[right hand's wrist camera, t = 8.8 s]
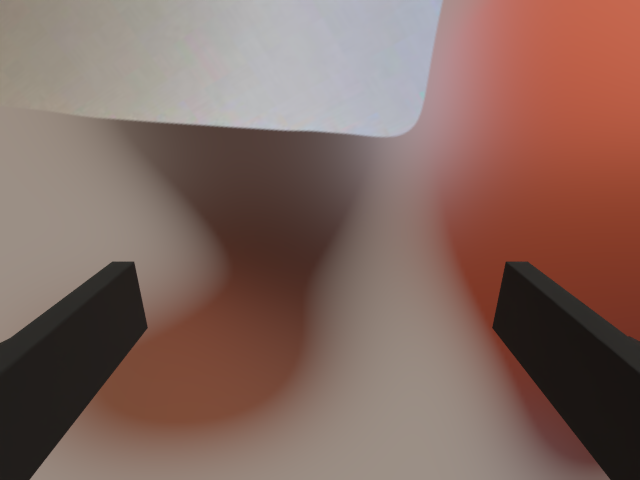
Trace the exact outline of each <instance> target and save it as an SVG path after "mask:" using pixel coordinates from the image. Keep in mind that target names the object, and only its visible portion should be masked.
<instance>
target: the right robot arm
mask: <svg viewBox="0 0 640 480" xmlns="http://www.w3.org/2000/svg"><path fill="white" fill-rule="evenodd" d="M147 328H148V327H147V322H146V318H145V313H144V308H143V303H142V298H141V293H140V288H139V283H138V278H137V273H136V269H135V264H134V262H111V263H110V264H109V265H107V266H106V267H105V268H103V269H102V270H101V271H99V272H98V273H97V274H95V275H94V276H93V277H91V278H90V279H89V280H87V281H86V282H85V283H83V284H82V285H81V286H79V287H78V288H77V289H75V290H74V291H73V292H71V293H70V294H69V295H67V296H66V297H65V298H63V299H62V300H61V301H59V302H58V303H57V304H55V305H54V306H53V307H51V308H50V309H49V310H47V311H46V312H45V313H43V314H42V315H40V316H39V317H38V318H37V319H35V320H34V321H33V322H31V323H30V324H28V325H27V326H26V327H25V328H23V329H22V330H21V331H19V332H18V333H16V334H15V335H14V336H12V337H11V338H9V339H7V340H5V341H3V342H1V343H0V480H30V478H31V477H32V476H33V474H34V473H35V472H36V471H37V469H38V468H39V467H40V465H41V464H42V463H43V462H44V460H45V459H46V458H47V456H48V455H49V454H50V453H51V451H52V450H53V449H54V447H55V446H56V445H57V444H58V442H59V441H60V440H61V438H62V437H63V436H64V435H65V433H66V432H67V431H68V429H69V428H70V427H71V426H72V424H73V423H74V422H75V420H76V419H77V418H78V417H79V415H80V414H81V413H82V411H83V410H84V409H85V408H86V406H87V405H88V404H89V403H90V401H91V400H92V399H93V397H94V396H95V395H96V394H97V392H98V391H99V390H100V388H101V387H102V386H103V385H104V383H105V382H106V381H107V379H108V378H109V377H110V376H111V374H112V373H113V372H114V370H115V369H116V368H117V367H118V365H119V364H120V363H121V361H122V360H123V359H124V358H125V356H126V355H127V354H128V352H129V351H130V350H131V348H132V347H133V346H134V345H135V343H136V342H137V341H138V340H139V338H140V337H141V336H142V334H143V333H144V332H145V331H146V329H147ZM492 328H493V329H494V331H495V332H496V333H497V334H498V336H499V337H500V338H501V339H502V341H503V342H504V343H505V345H506V346H507V347H508V349H509V350H510V351H511V352H512V354H513V355H514V356H515V357H516V359H517V360H518V361H519V363H520V364H521V365H522V367H523V368H524V369H525V370H526V372H527V373H528V374H529V376H530V377H531V378H532V379H533V381H534V382H535V383H536V384H537V386H538V387H539V388H540V390H541V391H542V392H543V394H544V395H545V396H546V397H547V399H548V400H549V401H550V403H551V404H552V405H553V406H554V408H555V409H556V410H557V412H558V413H559V414H560V415H561V416H562V418H563V419H564V420H565V422H566V423H567V424H568V426H569V427H570V428H571V429H572V431H573V432H574V433H575V435H576V436H577V437H578V438H579V440H580V441H581V442H582V444H583V445H584V446H585V447H586V449H587V450H588V451H589V453H590V454H591V455H592V456H593V458H594V459H595V460H596V462H597V463H598V464H599V465H600V467H601V468H602V469H603V471H604V472H605V473H606V474H607V476H608V477H609V478H610V480H640V341H638V340H636V339H634V338H632V337H628V336H626V335H625V334H624V333H622V332H621V331H619V330H618V329H617V328H616V327H614V326H613V325H612V324H610V323H609V322H608V321H606V320H605V319H603V318H602V317H601V316H600V315H598V314H597V313H595V312H594V311H593V310H591V309H590V308H589V307H587V306H586V305H585V304H583V303H582V302H581V301H579V300H578V299H577V298H575V297H574V296H573V295H571V294H570V293H569V292H567V291H566V290H565V289H563V288H562V287H561V286H559V285H558V284H557V283H555V282H554V281H553V280H551V279H550V278H549V277H547V276H546V275H545V274H543V273H542V272H541V271H539V270H538V269H537V268H535V267H534V266H533V265H531V264H530V263H529V262H506V264H505V269H504V273H503V278H502V283H501V288H500V293H499V298H498V303H497V308H496V313H495V317H494V322H493V327H492Z"/></svg>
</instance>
